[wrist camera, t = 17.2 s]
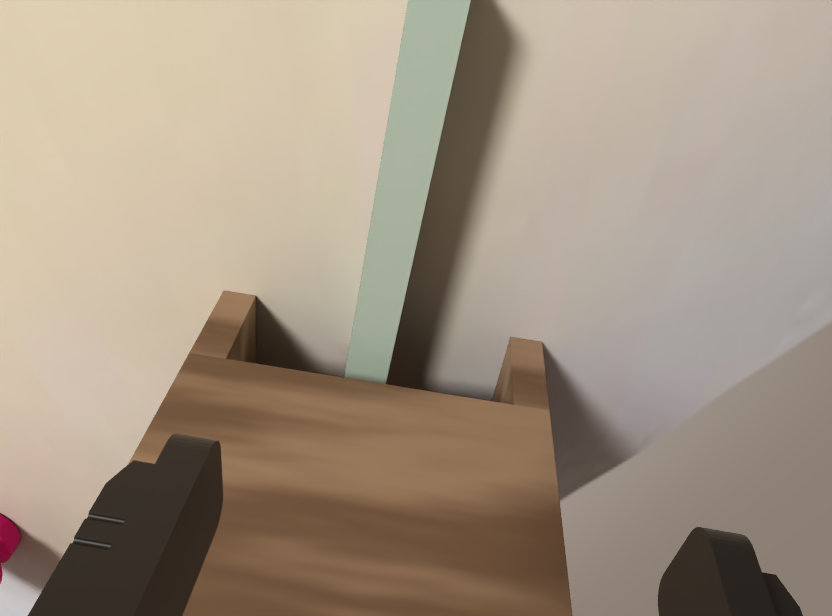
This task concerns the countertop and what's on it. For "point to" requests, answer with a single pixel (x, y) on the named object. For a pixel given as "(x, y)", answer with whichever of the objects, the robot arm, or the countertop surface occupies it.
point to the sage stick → (404, 178)
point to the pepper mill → (7, 540)
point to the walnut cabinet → (368, 487)
